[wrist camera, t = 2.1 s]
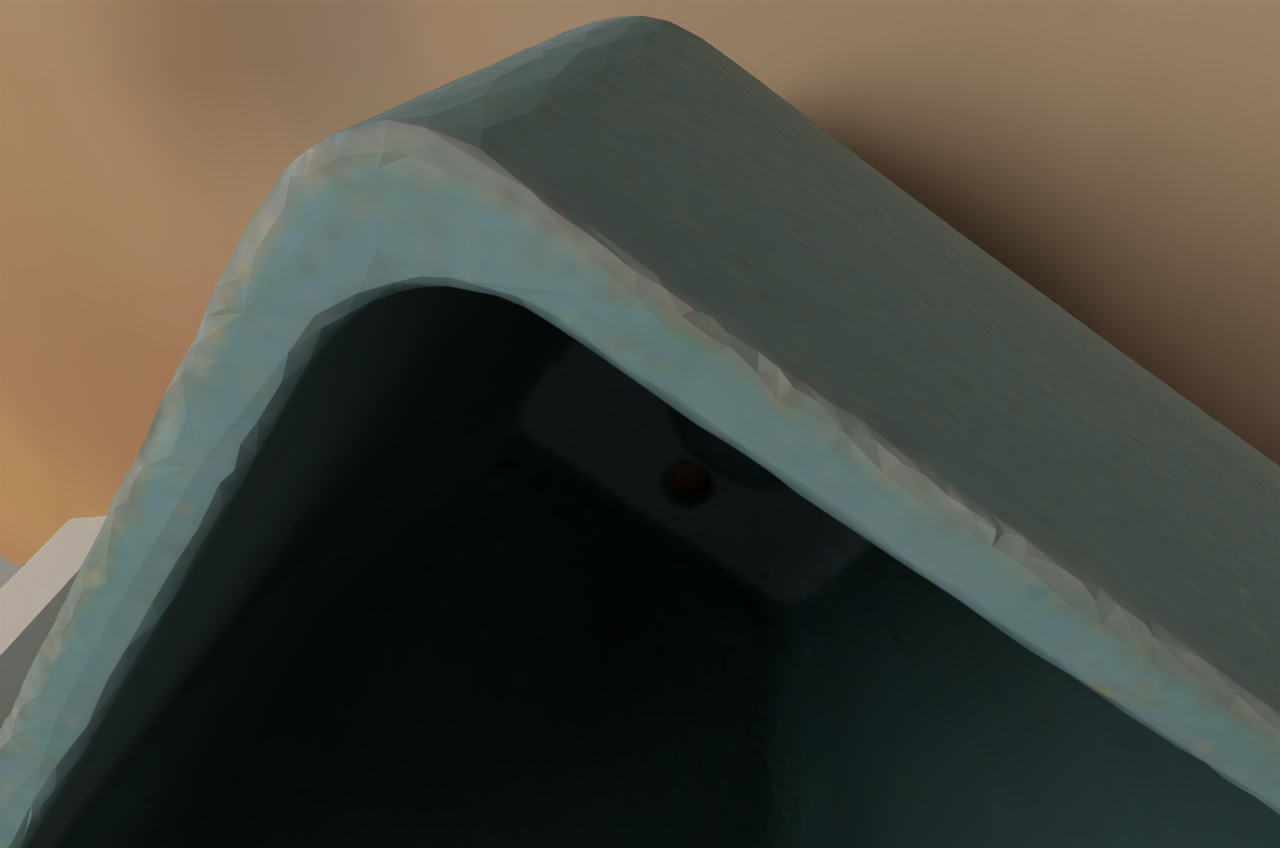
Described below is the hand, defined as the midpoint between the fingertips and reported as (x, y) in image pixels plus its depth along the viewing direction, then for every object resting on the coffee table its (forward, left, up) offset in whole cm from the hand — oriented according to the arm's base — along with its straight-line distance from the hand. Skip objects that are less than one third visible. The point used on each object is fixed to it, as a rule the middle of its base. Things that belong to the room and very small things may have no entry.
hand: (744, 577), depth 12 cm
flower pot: (0, 0, -4) cm, 4 cm away
